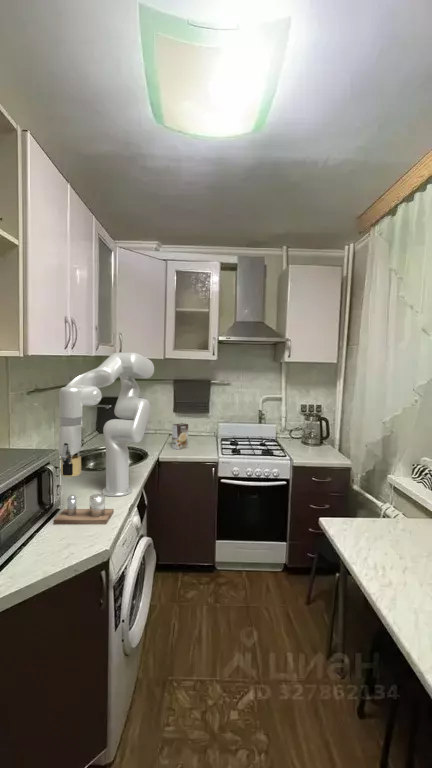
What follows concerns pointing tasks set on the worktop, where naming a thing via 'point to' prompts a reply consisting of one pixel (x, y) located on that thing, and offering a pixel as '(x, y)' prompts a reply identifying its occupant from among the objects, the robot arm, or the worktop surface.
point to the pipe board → (83, 517)
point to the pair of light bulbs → (95, 505)
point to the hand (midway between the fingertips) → (71, 471)
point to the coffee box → (179, 436)
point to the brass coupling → (76, 466)
